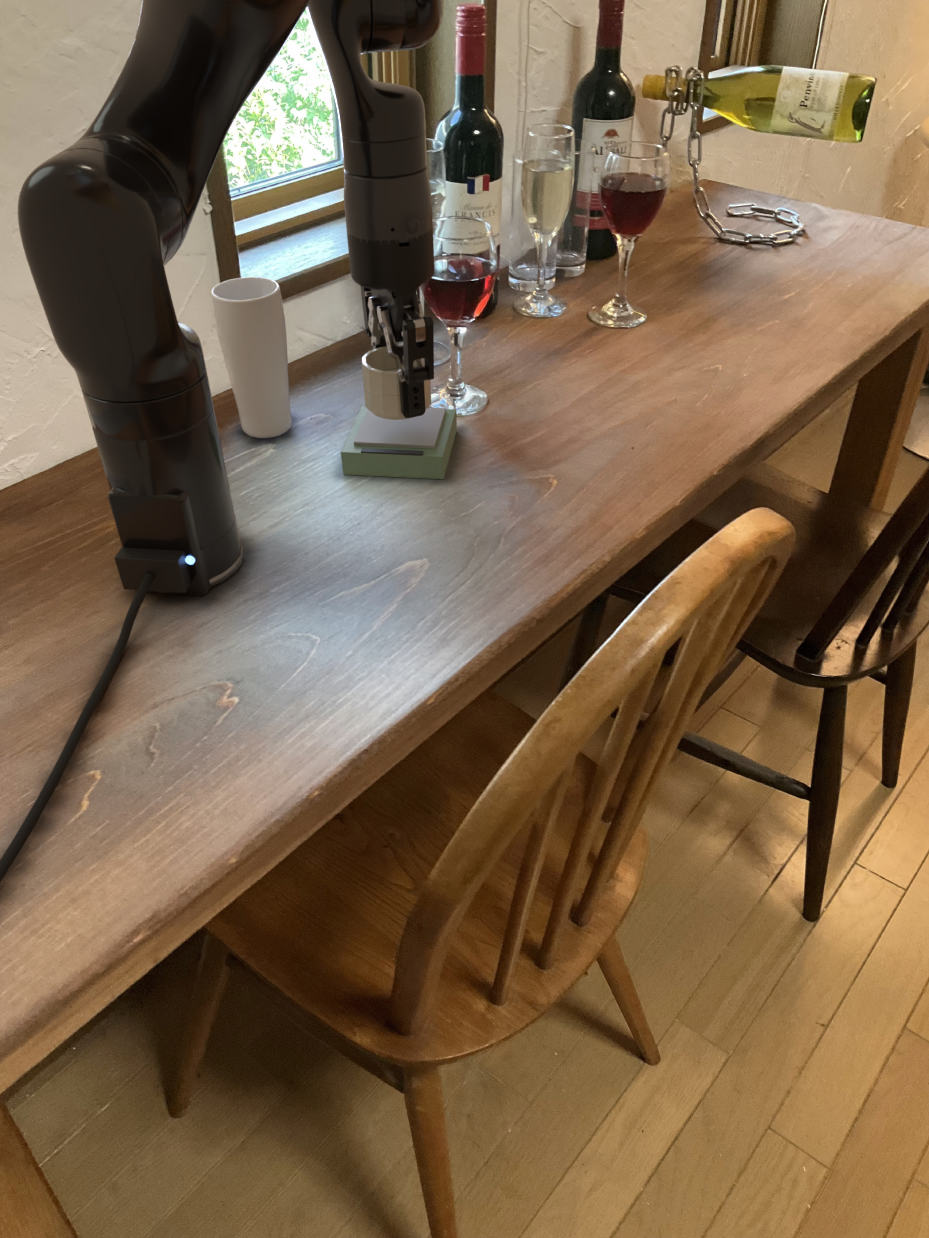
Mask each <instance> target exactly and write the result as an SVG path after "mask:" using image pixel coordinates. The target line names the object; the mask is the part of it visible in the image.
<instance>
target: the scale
mask: <svg viewBox="0 0 929 1238" xmlns="http://www.w3.org/2000/svg"><path fill="white" fill-rule="evenodd" d="M457 431H458V421H457V409H456V408H455V409H453V408H452V409H451V408H446V407H430V406H429V407H428V408H427V409H426V410H425V413H424V414H423V415H422V416H417V417H413V418H409V419H403V420H390V419H384V418H380V417H378V416H376V415H374V414H373V413H372V412H371V411H370V410H369V409H367V408H366V407H365V405H361V407H360V409H359V411H358V413H357V416H356V418H355V420H354V422H353V424H352V426H351V429H350V431H349V433H348V435H347V437H346V440H345V442H344V445H343V446H342V449H341V451H340V458H341V466H342V474H343V475H346V476H347V475H348V476H364V477H365V476H366V477H368V476H369V477H386V478H387V477H389V478H405V479H406V478H407V479H427V480H444V479H445V475H446V472H447V468H448V464H449V461H450V457H451V453H452V450H453V446H454V443H455V442H454V441H455V439H456V435H457Z"/></svg>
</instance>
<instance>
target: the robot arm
mask: <svg viewBox="0 0 929 1238" xmlns="http://www.w3.org/2000/svg"><path fill="white" fill-rule="evenodd" d="M140 7H141V8H140V15H139V21H138V25H137V30H136V34H135V38H134V40H133V43H132V46H131V49H130V51H129V54H128V56H127V59H126V61H125V63H124V66H123V67H122V70H121V71H120V73H119V76H118V77H117V79H116V81H115V82H114V85H113V87H112V88H111V91H110V92H109V94H108V95H107V98H106V100H104V102H103V105H102V106H101V108H100V110H99V111H98V113H97V114H96V116H95V117H94V119H93V120H92V122H91V124H90V126H89V127H88V128H87V129H86V130H85V132H84V133H83V135H82V136H81V137H80V138H79V139H77V141H76V142H74V143H73V144H71V145H69V146H68V147H65V149H63V150H62V151H60V152H57V153H56V154H54V155H53V156H52V157H50V158H48V159H47V160H45V161H44V162H42V163H41V164H39V165H38V166H37V167H35V168H34V169H33V170H32V171H31V172H30V173H29V174H28V176H27V177H26V178H25V180H24V182H23V183H22V186H21V188H20V190H19V191H20V192H19V195H18V200H17V223H18V229H19V234H20V239H21V245H22V248H23V250H24V255H25V258H26V262H27V265H28V267H29V271H30V274H31V277H32V279H33V283H34V286H35V289H36V292H37V294H38V296H39V300H40V303H41V305H42V308H43V311H44V314H45V317H46V320H47V322H48V323H47V324H48V326H49V328H50V332H51V334H52V337H53V339H54V341H55V344H56V346H57V348H58V350H59V351H60V353H61V355H62V356H63V358H64V359H65V360H66V361H67V363H68V364H69V365H70V366H71V367H72V368H73V370H74V371H75V375H76V377H77V381H78V383H79V387H80V389H81V392H82V396H83V401H84V403H85V406H86V410H87V413H88V417H89V421H90V424H91V428H92V432H93V435H94V439H95V443H96V446H97V449H98V453H99V456H100V460H101V463H102V467H103V470H104V475H105V476H106V481H107V484H108V488H109V492H108V494H107V499H108V503H109V506H110V509H111V513H112V516H113V520H114V524H115V526H116V530H117V533H118V534H117V535H118V537H119V541H120V544H121V548H120V549H119V551H118V552H117V553H116V555H115V556H114V561H115V565H116V568H117V571H118V575H119V578H120V580H121V585H122V588H123V590H132V591H135V592H136V593H135V595H134V597H133V598H132V601H131V603H130V605H129V607H128V610H127V613H126V615H125V617H124V621H123V624H122V627H121V630H120V633H119V636H118V639H117V641H116V644H115V646H114V649H113V651H112V653H111V655H110V658H109V660H108V662H107V664H106V666H105V668H104V669H103V672H102V674H101V675H100V677H99V679H98V681H97V683H96V685H95V686H94V689H93V690H92V693H91V694H90V696H89V698H88V699H87V702H86V703H85V705H84V707H83V709H82V711H81V713H80V715H79V716H78V719H77V721H76V723H75V724H74V727H73V729H72V731H71V732H70V735H69V736H68V739H67V741H66V743H65V745H64V747H63V749H62V751H61V752H60V755H59V756H58V758H57V761H56V762H55V765H54V766H53V769H52V771H51V772H50V774H49V776H48V778H47V780H46V782H45V783H44V785H43V787H42V788H41V790H40V792H39V794H38V795H37V798H36V799H35V801H34V803H33V805H32V806H31V808H30V810H29V811H28V814H26V817H25V819H24V820H23V822H22V823H21V825H20V827H19V829H18V831H16V834H15V835H14V837H13V839H12V840H11V842H10V844H9V845H8V847H7V848H6V850H5V851H4V853H3V855H2V856H1V858H0V884H1V882H2V881H3V880H4V878H5V876H6V875H7V873H8V872H9V870H10V868H11V867H12V865H13V864H14V863H15V860H16V859H17V858H18V856H19V854H20V852H21V851H22V849H23V847H24V846H25V844H26V842H27V841H28V839H29V838H30V835H31V834H32V832H33V830H34V828H35V826H36V825H37V824H38V821H39V820H40V818H41V816H42V814H43V813H44V811H45V809H46V807H47V805H48V804H49V802H50V800H51V798H52V797H53V794H54V793H55V791H56V789H57V787H58V785H59V783H60V781H61V779H62V777H63V775H64V773H65V772H66V770H67V767H68V765H69V764H70V762H71V759H72V757H73V755H74V754H75V751H76V749H77V747H78V745H79V742H80V741H81V739H82V737H83V734H84V732H85V730H86V729H87V726H88V724H89V722H90V720H91V718H92V716H93V714H94V712H95V710H96V708H97V706H98V705H99V703H100V701H101V699H102V697H103V696H104V693H105V691H106V690H107V688H108V686H109V684H110V682H111V680H112V678H113V676H114V674H115V672H116V670H117V668H118V667H119V664H120V661H121V659H122V656H123V655H124V652H125V650H126V648H127V645H128V641H129V639H130V636H131V632H132V630H133V628H134V627H133V626H134V623H135V621H136V618H137V615H138V613H139V611H140V608H141V606H142V604H143V601H144V600H145V598H146V595H147V594H148V593H156V594H167V595H185V596H186V595H187V596H206V595H207V594H208V593H209V591H210V589H211V588H213V587H215V586H216V585H219V584H221V583H223V582H224V581H226V580H228V579H229V578H230V577H232V575H234V574H235V573H236V572H238V570H239V568H240V567H241V566H242V563H243V561H244V558H245V557H244V555H245V552H244V547H243V543H242V540H241V538H240V534H239V533H240V532H239V527H238V523H237V518H236V513H235V508H234V504H233V503H234V502H233V498H232V492H231V488H230V483H229V477H228V473H227V467H226V462H225V459H224V458H225V457H224V453H223V448H222V443H221V437H220V433H219V427H218V423H217V417H216V411H215V407H214V401H213V396H212V391H211V386H210V380H209V376H208V370H207V367H206V365H207V364H206V359H205V356H204V351H203V345H202V342H201V339H200V336H199V335H198V334H197V333H196V331H195V330H194V329H193V328H192V327H191V326H189V325H187V324H185V323H184V322H180V321H179V320H178V318H177V314H176V313H177V312H176V310H175V307H174V302H173V298H172V293H171V291H170V286H169V281H168V277H167V273H166V267H165V266H166V265H167V264H168V263H169V262H170V261H171V260H172V259H173V258H174V257H175V255H176V254H177V252H178V251H179V249H180V248H181V246H182V245H183V243H184V241H185V239H186V236H187V234H188V232H189V229H190V226H191V223H192V221H193V218H194V216H195V213H196V211H197V208H198V206H199V202H200V200H201V197H202V195H203V192H204V189H205V187H206V184H207V182H208V180H209V177H210V174H211V172H212V169H213V167H214V164H215V162H216V160H217V157H218V155H219V152H220V150H221V148H222V145H223V143H224V142H225V139H226V137H227V134H228V132H229V130H230V129H231V126H232V125H233V123H234V121H235V119H236V117H237V115H238V114H239V113H240V110H241V109H242V108H243V106H244V104H245V103H246V102H247V100H248V99H249V97H250V96H251V95H252V93H253V91H254V90H255V89H256V87H257V86H258V85H259V83H260V82H261V80H262V79H263V78H264V76H265V75H266V73H267V72H268V70H269V69H270V67H271V66H272V64H273V62H274V61H275V60H276V58H277V56H278V55H279V53H280V52H281V50H282V49H283V48H284V46H285V44H286V42H287V41H288V39H289V38H290V36H291V34H292V33H293V31H294V29H295V28H296V26H297V24H298V22H299V21H300V19H301V18H302V16H303V14H304V13H305V11H306V14H307V18H308V21H309V25H310V27H311V30H312V33H313V35H314V38H315V41H316V44H317V46H318V48H319V52H320V55H321V57H322V60H323V63H324V66H325V69H326V72H327V75H328V79H329V82H330V85H331V90H332V94H333V97H334V101H335V105H336V110H337V116H338V121H339V122H338V123H339V133H340V142H341V143H340V144H341V155H342V164H343V165H342V166H343V176H344V177H343V207H344V217H345V225H346V238H347V239H346V240H347V249H348V250H347V251H348V260H349V269H350V272H349V273H350V277H351V279H352V280H353V282H354V283H356V284H357V285H358V286H360V295H361V302H362V311H363V313H362V314H363V320H364V321H363V322H364V333H365V334H366V337H367V338H371V339H370V345H371V347H372V350H373V349H376V348H379V347H384V346H387V349H388V353H389V355H390V356H391V357H392V358H394V359H395V361H396V366H397V371H398V378H399V379H400V380H399V386H400V401H401V413H402V414H403V416H404V417H405V418H412V417H417V416H422V415H423V414H424V413H425V391H424V381H425V380H435V347H434V346H435V345H434V344H435V343H434V340H435V339H434V338H435V337H434V336H435V335H434V333H435V331H434V325H435V323H434V320H433V317H432V316H431V315H427V316H424V311H423V306H422V302H421V300H420V299H419V298H418V293H417V291H418V289H419V288H420V287H421V286H422V285H424V284H426V283H427V282H429V281H430V280H431V279H432V278H433V276H434V275H435V247H434V224H433V223H434V221H433V220H434V219H433V200H432V198H433V197H432V189H431V188H432V187H431V182H430V178H429V169H428V153H427V152H428V151H427V125H426V124H427V121H426V120H427V119H426V110H425V103H424V100H423V97H422V95H421V94H420V92H419V91H417V89H414V88H413V87H411V86H408V85H404V84H398V83H392V82H384V81H379V80H375V79H372V78H370V77H369V75H368V74H367V72H366V70H365V68H364V65H363V62H362V55H363V54H375V53H376V54H377V53H384V52H385V53H388V52H399V51H410V50H411V51H412V50H416V49H420V48H422V47H424V46H425V45H427V44H428V43H429V42H430V41H431V40H432V39H433V38H434V37H435V36H436V34H437V33H438V31H439V30H440V28H441V25H442V23H443V18H444V12H445V0H142V1H141V6H140ZM401 342H402V345H403V346H398V345H400V344H399V343H401ZM403 356H404V358H403ZM415 360H416V362H417V366H415V367H413V362H414V361H415Z"/></svg>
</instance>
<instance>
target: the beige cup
mask: <svg viewBox="0 0 929 1238" xmlns="http://www.w3.org/2000/svg"><path fill="white" fill-rule="evenodd" d="M398 346H403V344H398ZM403 358H404V356H403ZM415 366H417V362H416V360H415V361H414V362H413V367H415ZM361 370H362V382H363V394H364V406H365V407H366V408H367V409H369V410H370V411H371V412H372V413H373V414H374V415H376V416H378V417H380V418H384V419H390V420H403V419H409V418H405V417H404V416H403V414H402V413H401V401H400V386H399V380H400V379H399V378H398V371H397V366H396V361H395V359H394V358H392V357H391V356H390V355H389V353H388V349H387V346H384V347H379V348H376V349H373V348H372V349H371V350H368V351H367V352H366V353H365V354H364V355H362V356H361ZM431 382H432V381H431V380H425V381H424V391H425V410H426V409H427V408H428V407H430V406H431V405H432V383H431ZM412 418H413V417H412Z"/></svg>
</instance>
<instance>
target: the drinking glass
mask: <svg viewBox="0 0 929 1238" xmlns="http://www.w3.org/2000/svg"><path fill="white" fill-rule="evenodd" d="M210 299H211V305H212V307H211V308H212V313H213V320H214V324H215V330H216V333H217V334H216V335H217V337H218V338H217V339H218V343H219V346H220V349H221V353H222V356H223V361H224V364H225V368H226V371H227V373H228V374H227V375H228V378H229V382H230V386H231V389H232V393H233V397H234V400H235V404H236V408H237V412H238V417H239V422H240V427H241V430H242V432H244V433H245V434H246V435H247V436H249V437H252V438H256V439H271V438H277V437H279V436H281V435H283V434H285V433H287V432H288V431H289V430H290V429H291V427H292V425H293V416H292V410H291V400H290V399H291V398H290V379H289V361H288V360H289V358H288V337H287V325H286V317H285V310H284V309H285V308H284V303H283V297H282V293H281V287H280V284H279V283H278V282H277V281H275V280H273V279H271V278H267V277H260V276H245V277H237V278H231V279H227V280H224V281H221V282H219V283H217V284H215V285H214V286H213V287H212V288H211V290H210Z"/></svg>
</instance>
